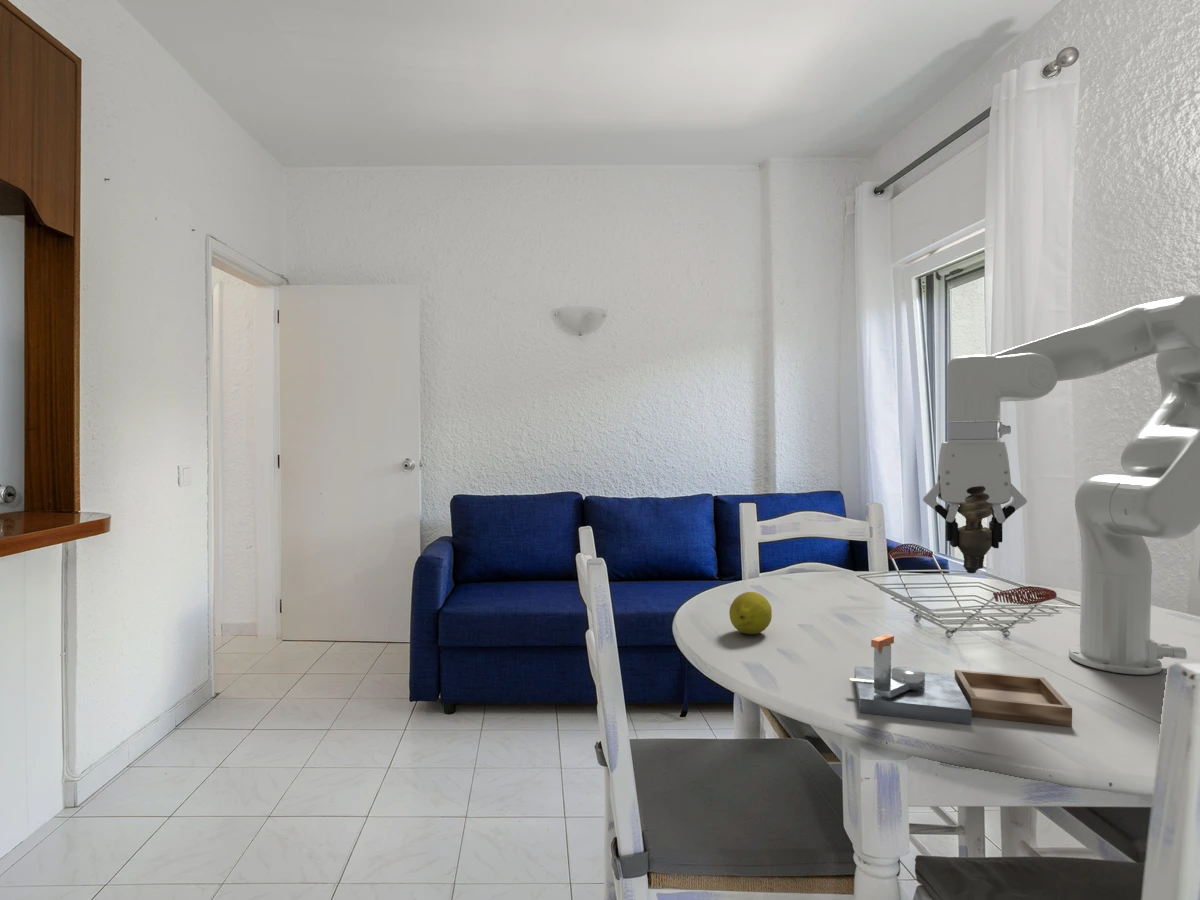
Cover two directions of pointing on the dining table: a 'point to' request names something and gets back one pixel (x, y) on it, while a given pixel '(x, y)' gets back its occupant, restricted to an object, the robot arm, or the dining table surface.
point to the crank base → (915, 699)
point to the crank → (900, 675)
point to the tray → (1013, 698)
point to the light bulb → (975, 529)
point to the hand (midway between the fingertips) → (973, 545)
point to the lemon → (750, 613)
